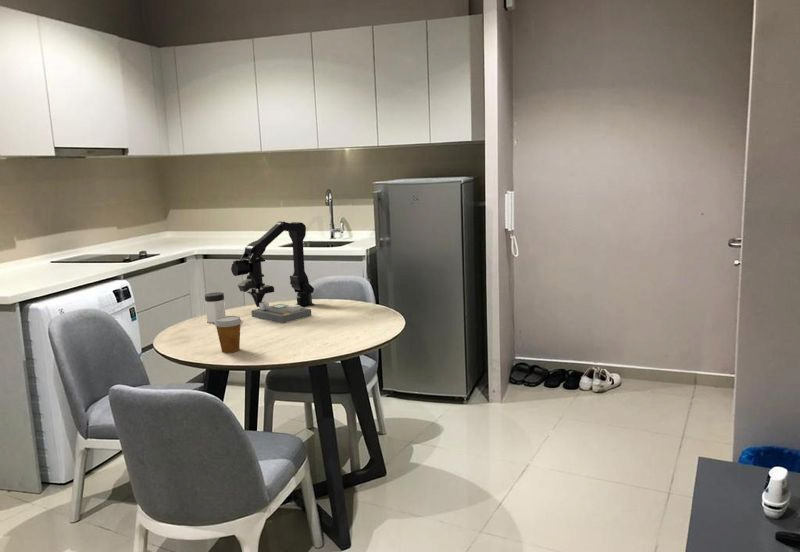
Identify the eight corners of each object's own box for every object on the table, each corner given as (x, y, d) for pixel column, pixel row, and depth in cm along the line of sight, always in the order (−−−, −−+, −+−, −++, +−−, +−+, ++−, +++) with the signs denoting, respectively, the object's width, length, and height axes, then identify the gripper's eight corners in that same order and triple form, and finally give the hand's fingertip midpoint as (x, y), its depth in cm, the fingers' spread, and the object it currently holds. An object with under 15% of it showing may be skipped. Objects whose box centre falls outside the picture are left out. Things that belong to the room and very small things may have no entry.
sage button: (280, 310, 300) (280, 304, 300) (286, 311, 297) (286, 305, 297) (272, 311, 297) (272, 306, 296) (278, 313, 294) (278, 307, 293)
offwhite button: (294, 309, 293) (294, 304, 293) (300, 310, 290) (300, 305, 290) (286, 311, 290) (286, 306, 290) (292, 312, 287) (292, 307, 287)
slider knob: (265, 308, 294) (264, 301, 293) (269, 308, 292) (268, 302, 291) (259, 309, 292) (259, 302, 291) (263, 310, 290) (263, 303, 289)
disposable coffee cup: (246, 346, 245) (243, 314, 243) (241, 353, 236) (238, 320, 234) (220, 347, 245) (217, 316, 243) (214, 354, 235) (211, 322, 233)
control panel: (280, 310, 305) (280, 303, 304) (311, 315, 290) (311, 308, 290) (251, 317, 293) (251, 310, 293) (282, 323, 278) (282, 316, 278)
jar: (211, 324, 283) (209, 296, 281) (202, 321, 289) (200, 294, 287) (230, 320, 289) (228, 293, 287) (221, 317, 295) (218, 291, 293)
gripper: (227, 273, 293) (231, 307, 295) (252, 277, 280) (255, 312, 283) (248, 270, 301) (251, 303, 303) (273, 273, 288) (276, 307, 291)
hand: (258, 306), depth 295 cm, fingers closed
